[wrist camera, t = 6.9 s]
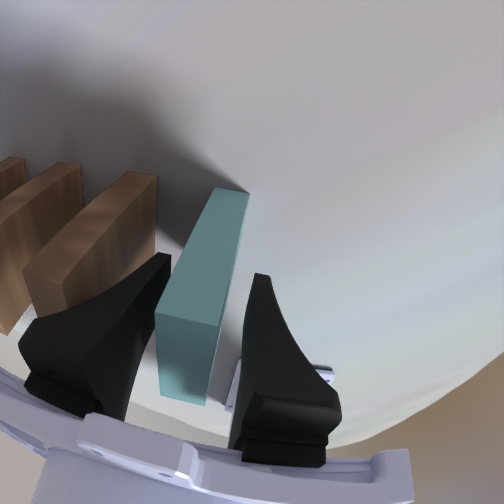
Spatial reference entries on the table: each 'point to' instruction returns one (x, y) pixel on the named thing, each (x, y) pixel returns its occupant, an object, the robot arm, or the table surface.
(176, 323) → the domino
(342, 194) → the table surface
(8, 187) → the domino
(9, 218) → the domino
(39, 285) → the domino
